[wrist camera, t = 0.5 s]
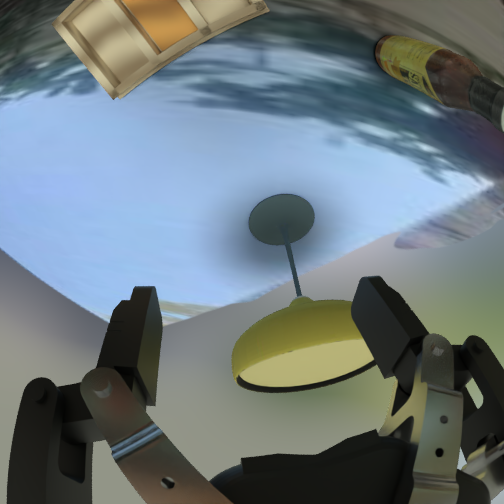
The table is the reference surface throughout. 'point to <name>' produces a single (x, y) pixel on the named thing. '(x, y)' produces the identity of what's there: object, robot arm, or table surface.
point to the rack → (144, 34)
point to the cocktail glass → (297, 321)
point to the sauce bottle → (442, 76)
